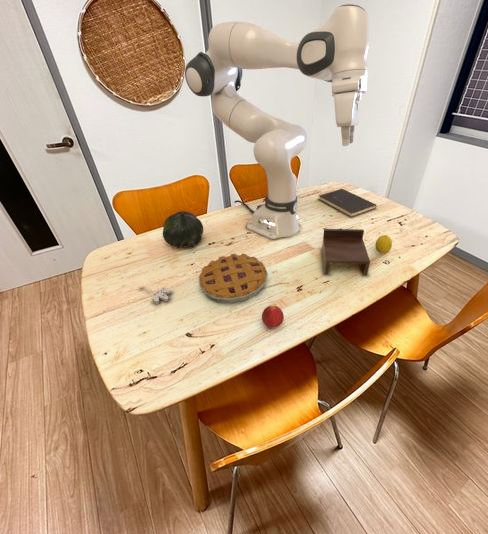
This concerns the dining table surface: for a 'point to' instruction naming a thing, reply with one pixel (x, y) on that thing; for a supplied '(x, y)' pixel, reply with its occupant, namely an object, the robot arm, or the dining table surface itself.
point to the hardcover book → (347, 202)
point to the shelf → (344, 248)
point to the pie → (233, 278)
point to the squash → (182, 230)
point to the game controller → (160, 295)
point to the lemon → (383, 244)
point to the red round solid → (272, 316)
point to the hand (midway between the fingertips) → (347, 144)
